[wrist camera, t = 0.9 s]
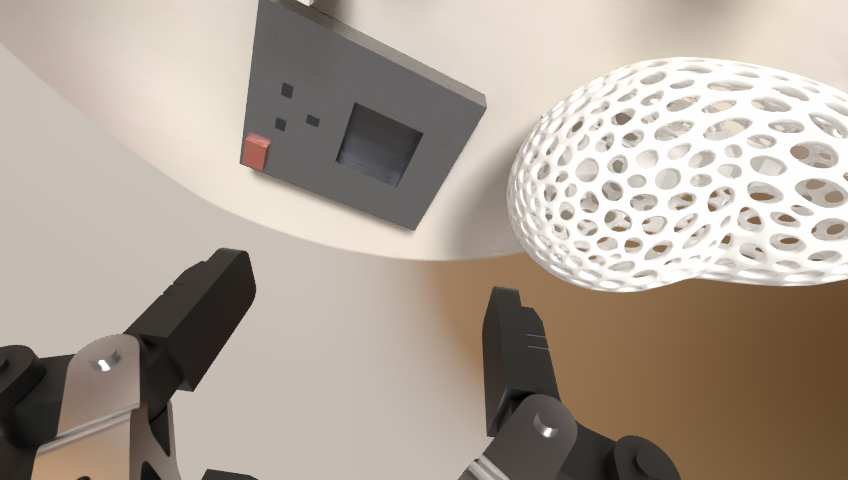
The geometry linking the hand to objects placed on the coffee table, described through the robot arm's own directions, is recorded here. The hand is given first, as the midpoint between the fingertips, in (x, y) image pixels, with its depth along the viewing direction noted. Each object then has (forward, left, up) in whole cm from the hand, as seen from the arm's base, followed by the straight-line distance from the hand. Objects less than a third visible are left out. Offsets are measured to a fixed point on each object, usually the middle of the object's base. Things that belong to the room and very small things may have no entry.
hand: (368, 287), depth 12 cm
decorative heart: (+14, +4, -21) cm, 26 cm away
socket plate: (-3, -6, -21) cm, 22 cm away
